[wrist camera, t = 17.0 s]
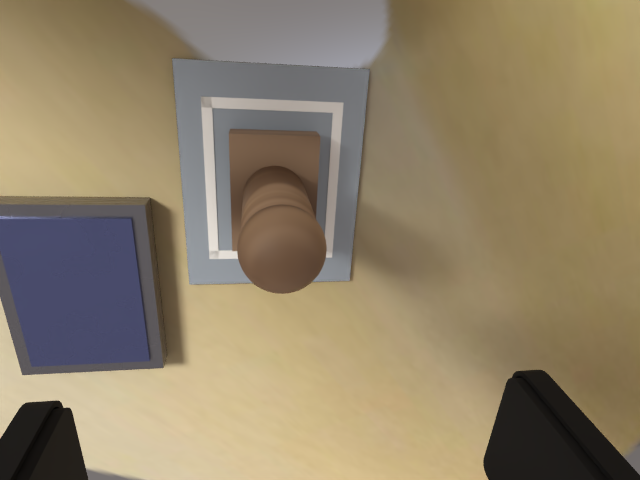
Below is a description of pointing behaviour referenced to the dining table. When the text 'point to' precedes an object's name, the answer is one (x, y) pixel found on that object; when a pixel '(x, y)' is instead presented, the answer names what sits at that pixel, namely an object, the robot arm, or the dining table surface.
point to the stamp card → (265, 114)
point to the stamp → (276, 207)
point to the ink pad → (81, 284)
